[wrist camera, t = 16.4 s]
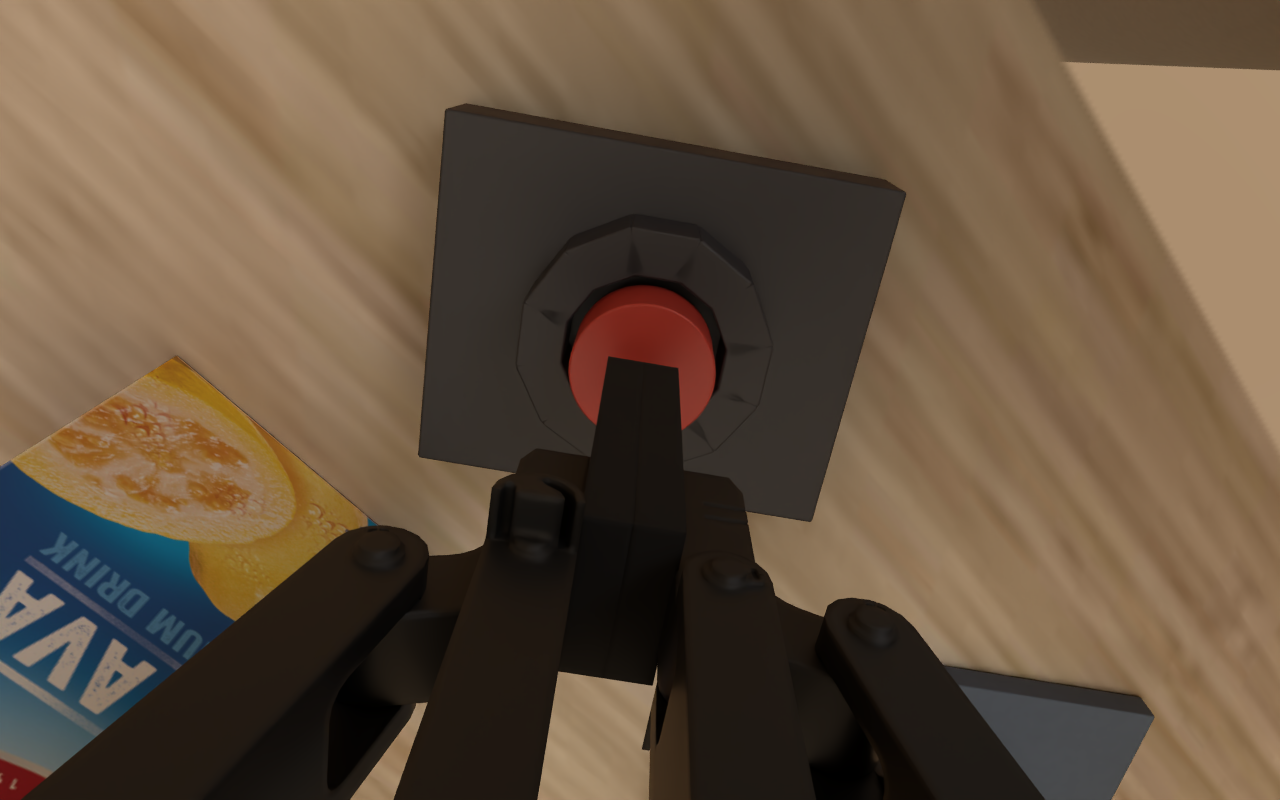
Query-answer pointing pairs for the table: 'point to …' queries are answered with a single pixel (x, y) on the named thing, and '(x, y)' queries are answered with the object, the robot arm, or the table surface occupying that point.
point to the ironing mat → (1060, 731)
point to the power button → (644, 345)
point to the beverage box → (138, 555)
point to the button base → (647, 255)
